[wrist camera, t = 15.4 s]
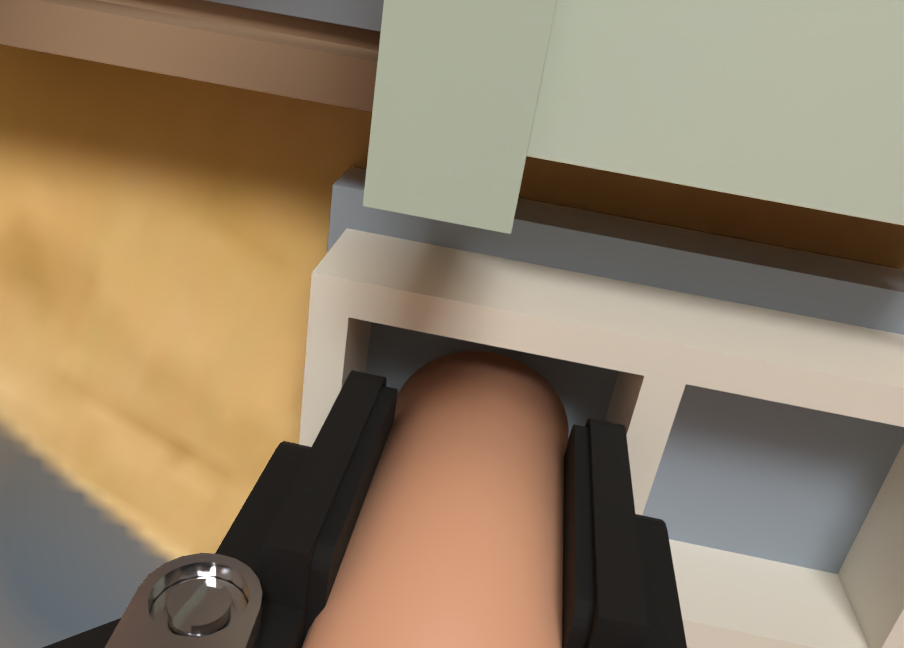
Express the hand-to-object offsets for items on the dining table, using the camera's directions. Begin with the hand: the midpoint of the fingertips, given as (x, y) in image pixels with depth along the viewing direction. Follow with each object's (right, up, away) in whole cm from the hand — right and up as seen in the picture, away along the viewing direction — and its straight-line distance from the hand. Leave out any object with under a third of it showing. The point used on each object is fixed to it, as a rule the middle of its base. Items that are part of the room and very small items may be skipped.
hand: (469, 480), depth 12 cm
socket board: (+3, +1, +3) cm, 4 cm away
